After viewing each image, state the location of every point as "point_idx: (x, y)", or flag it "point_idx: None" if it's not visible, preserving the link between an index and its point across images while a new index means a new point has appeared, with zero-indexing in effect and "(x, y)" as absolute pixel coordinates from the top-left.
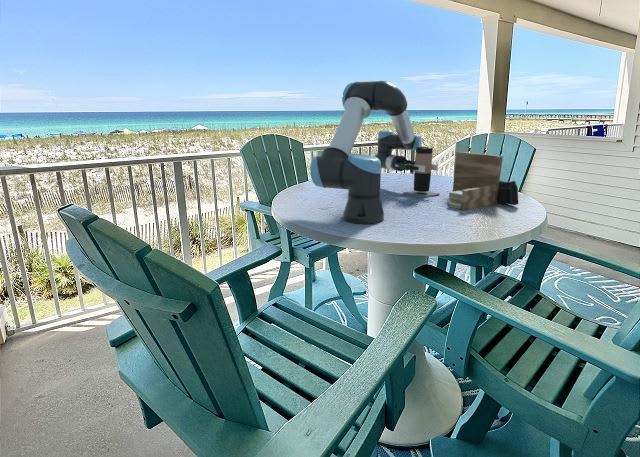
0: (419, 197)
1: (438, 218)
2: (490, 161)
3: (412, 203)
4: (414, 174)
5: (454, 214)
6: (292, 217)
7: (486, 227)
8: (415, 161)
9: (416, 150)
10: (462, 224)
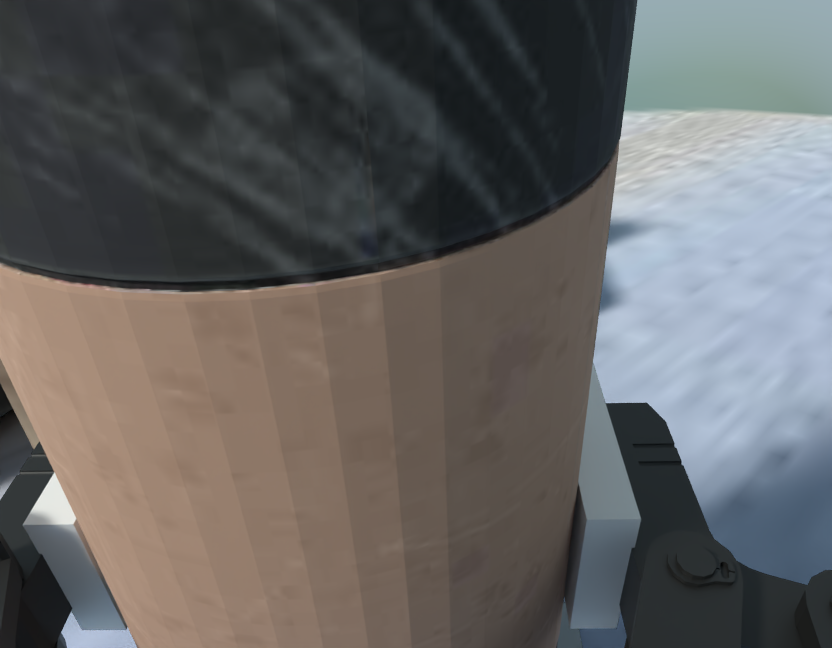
0: (578, 640)
1: (789, 235)
2: None
3: (808, 499)
4: None
5: (650, 242)
6: None
7: (649, 147)
8: (573, 456)
9: (629, 27)
10: (721, 177)
